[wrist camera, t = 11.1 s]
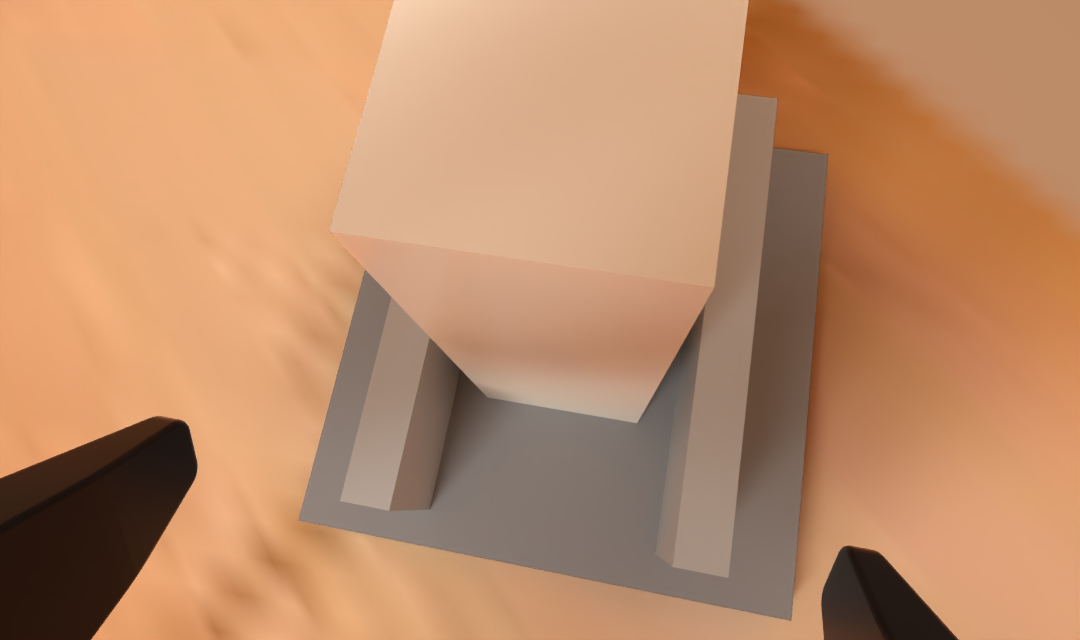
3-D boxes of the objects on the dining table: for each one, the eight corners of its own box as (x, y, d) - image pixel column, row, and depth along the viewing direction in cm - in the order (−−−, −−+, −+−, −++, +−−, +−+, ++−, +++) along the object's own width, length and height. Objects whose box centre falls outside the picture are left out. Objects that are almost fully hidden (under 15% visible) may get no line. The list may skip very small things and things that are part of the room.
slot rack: (781, 614, 19) (847, 653, 14) (312, 519, 20) (225, 524, 15) (818, 169, 22) (881, 76, 17) (416, 120, 24) (372, 22, 19)
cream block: (637, 423, 19) (714, 287, 7) (487, 397, 20) (329, 231, 8) (660, 264, 21) (757, -75, 9) (518, 243, 21) (423, -103, 9)
